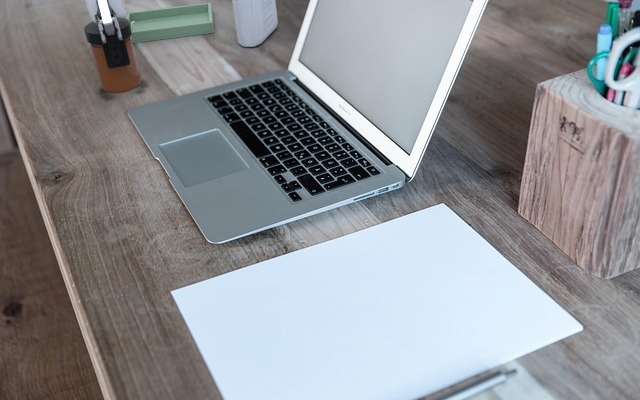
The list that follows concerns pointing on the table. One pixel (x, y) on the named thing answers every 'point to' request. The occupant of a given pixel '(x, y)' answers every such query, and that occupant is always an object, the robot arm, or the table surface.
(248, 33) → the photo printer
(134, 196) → the table surface
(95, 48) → the jar
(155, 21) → the tray
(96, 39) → the lid
